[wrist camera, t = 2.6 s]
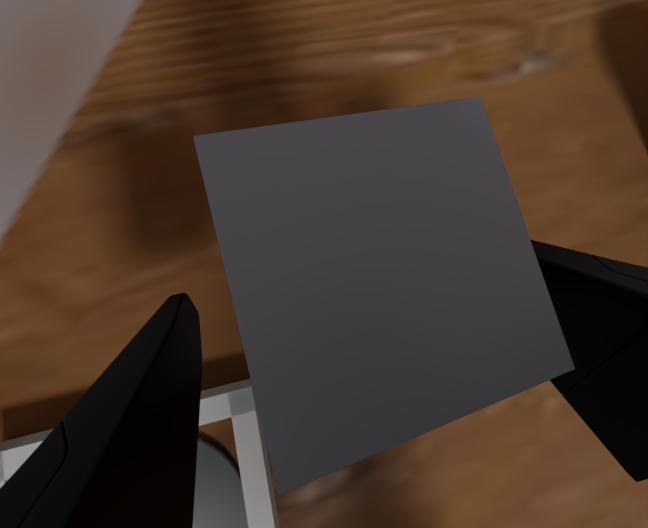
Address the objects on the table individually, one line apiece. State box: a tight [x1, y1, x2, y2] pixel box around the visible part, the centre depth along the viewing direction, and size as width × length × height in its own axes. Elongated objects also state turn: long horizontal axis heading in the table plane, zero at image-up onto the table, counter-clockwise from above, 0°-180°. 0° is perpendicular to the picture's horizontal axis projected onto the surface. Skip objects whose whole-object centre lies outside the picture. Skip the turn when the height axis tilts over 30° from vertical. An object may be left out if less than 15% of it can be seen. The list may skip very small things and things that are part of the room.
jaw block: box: [193, 97, 575, 495], centre depth 10 cm, size 5×5×12 cm
